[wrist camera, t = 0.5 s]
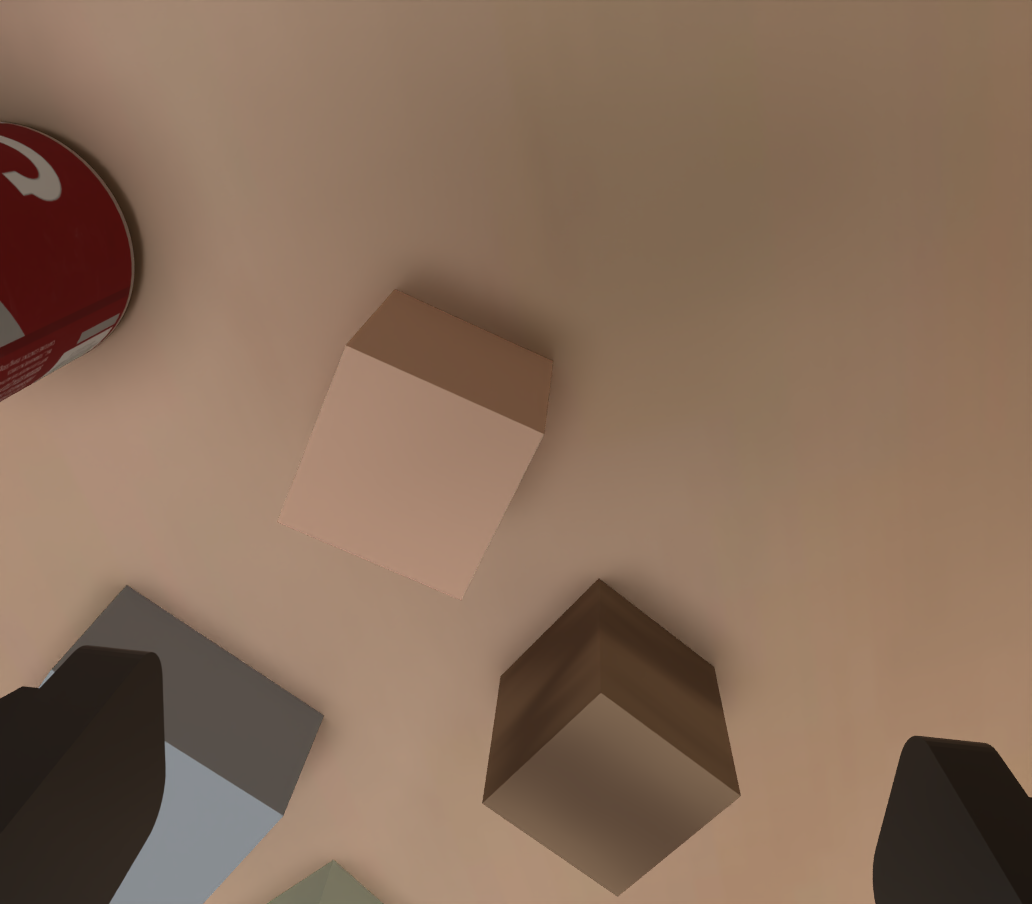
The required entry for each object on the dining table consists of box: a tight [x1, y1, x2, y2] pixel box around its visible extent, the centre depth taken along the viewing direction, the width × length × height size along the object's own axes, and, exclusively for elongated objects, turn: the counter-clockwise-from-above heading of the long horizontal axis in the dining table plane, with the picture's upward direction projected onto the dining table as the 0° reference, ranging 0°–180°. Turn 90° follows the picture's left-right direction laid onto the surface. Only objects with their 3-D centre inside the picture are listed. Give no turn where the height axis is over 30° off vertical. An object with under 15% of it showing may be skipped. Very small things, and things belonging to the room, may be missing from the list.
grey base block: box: [39, 585, 324, 904], centre depth 32 cm, size 8×8×5 cm
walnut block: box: [482, 579, 741, 897], centre depth 29 cm, size 5×5×6 cm
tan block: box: [277, 289, 553, 600], centre depth 26 cm, size 5×5×6 cm
